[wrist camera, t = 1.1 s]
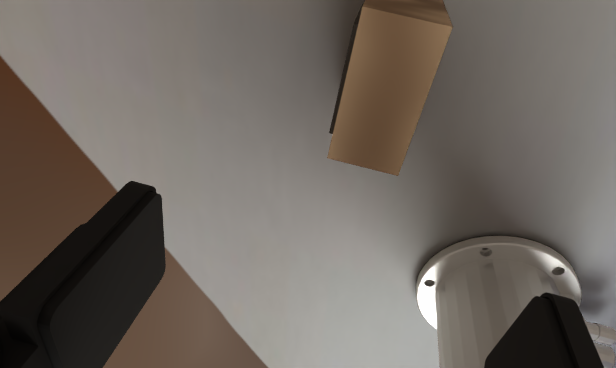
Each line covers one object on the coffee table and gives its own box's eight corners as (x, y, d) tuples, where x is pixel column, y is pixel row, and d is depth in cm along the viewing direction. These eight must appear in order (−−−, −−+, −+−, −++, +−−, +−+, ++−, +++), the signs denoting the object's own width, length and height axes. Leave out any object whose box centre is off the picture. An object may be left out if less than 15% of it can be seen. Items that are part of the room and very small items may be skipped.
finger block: (441, -3, 23) (452, 27, 17) (399, 121, 28) (398, 175, 22) (369, -19, 23) (356, 5, 18) (339, 106, 28) (322, 156, 22)
